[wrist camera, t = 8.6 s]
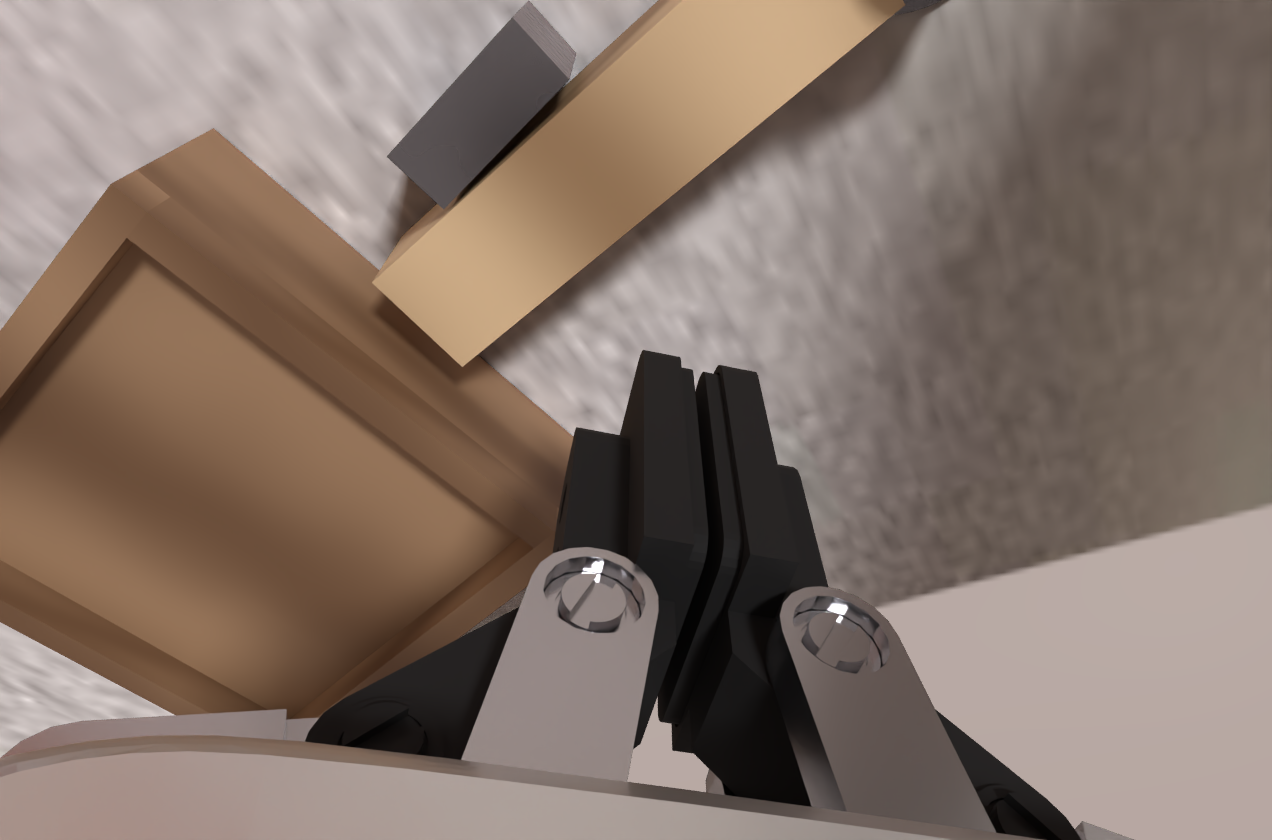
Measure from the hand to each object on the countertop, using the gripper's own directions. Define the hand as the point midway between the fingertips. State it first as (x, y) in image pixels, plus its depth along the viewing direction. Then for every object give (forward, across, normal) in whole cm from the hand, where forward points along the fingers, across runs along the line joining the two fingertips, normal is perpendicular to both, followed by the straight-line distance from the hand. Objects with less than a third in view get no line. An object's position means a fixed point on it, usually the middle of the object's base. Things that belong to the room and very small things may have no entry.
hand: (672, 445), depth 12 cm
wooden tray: (+6, +8, +6) cm, 12 cm away
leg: (+6, +1, -4) cm, 7 cm away
